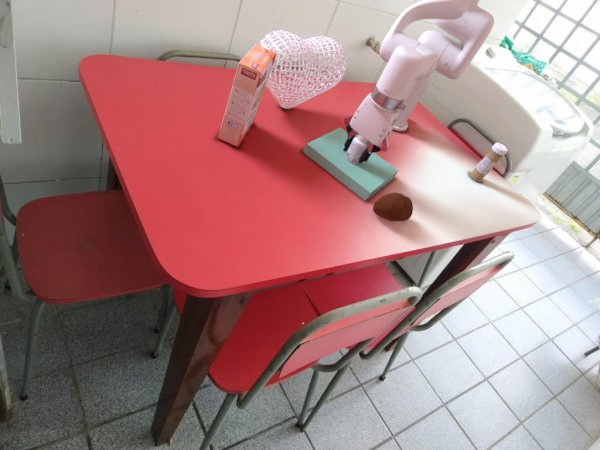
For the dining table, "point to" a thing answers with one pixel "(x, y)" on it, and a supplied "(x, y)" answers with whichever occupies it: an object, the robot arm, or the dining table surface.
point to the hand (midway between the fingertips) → (354, 155)
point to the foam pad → (350, 164)
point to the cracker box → (246, 94)
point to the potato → (393, 207)
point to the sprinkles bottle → (488, 161)
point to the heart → (304, 44)
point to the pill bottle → (357, 148)
